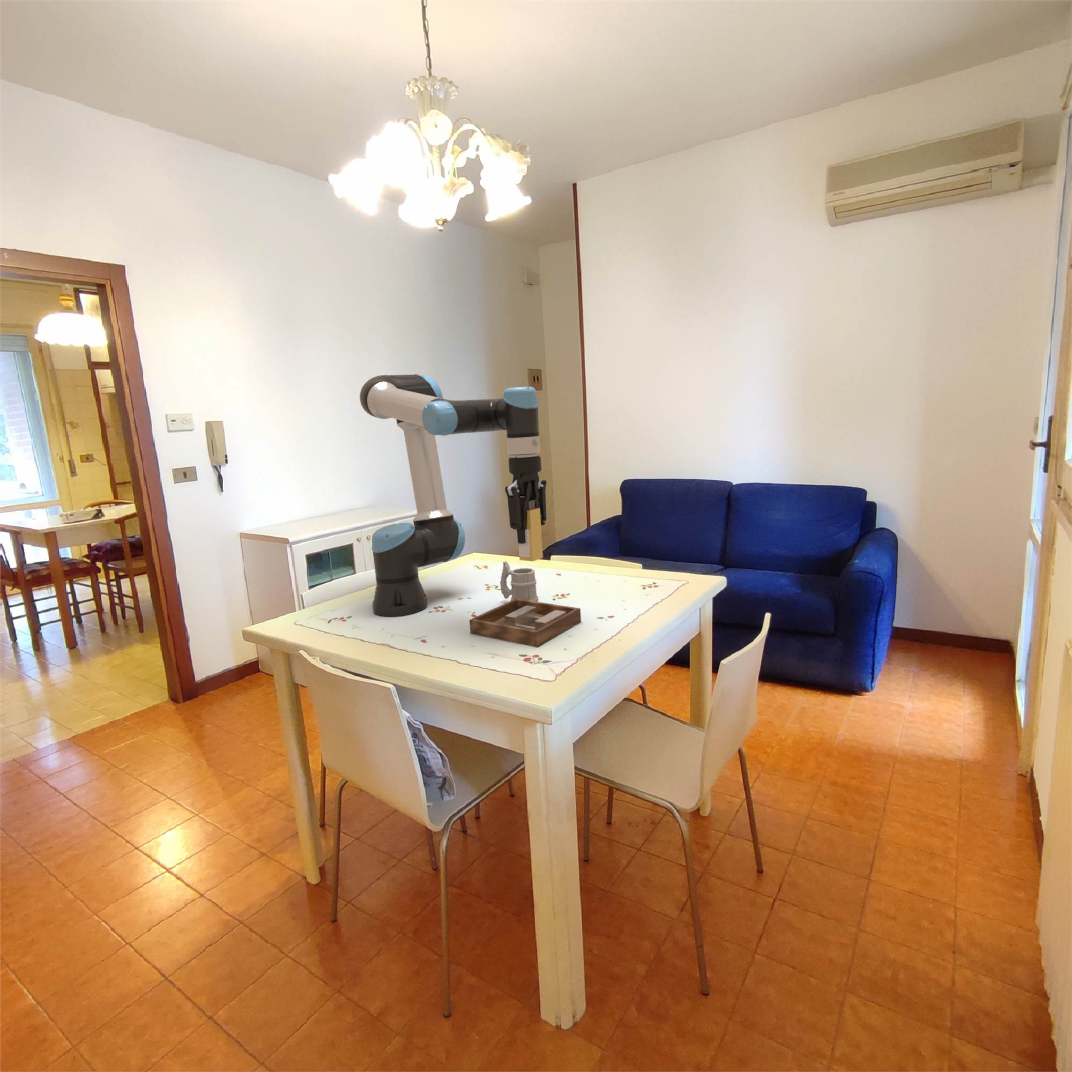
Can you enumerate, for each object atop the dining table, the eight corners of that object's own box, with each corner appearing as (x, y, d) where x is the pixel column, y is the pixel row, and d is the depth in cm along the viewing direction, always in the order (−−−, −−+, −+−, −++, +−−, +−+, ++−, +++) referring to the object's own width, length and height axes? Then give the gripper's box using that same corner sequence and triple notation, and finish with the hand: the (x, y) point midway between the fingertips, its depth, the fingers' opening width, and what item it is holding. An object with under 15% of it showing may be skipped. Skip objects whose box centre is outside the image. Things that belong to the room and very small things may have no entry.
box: (470, 633, 152) (469, 619, 151) (516, 611, 167) (516, 598, 166) (537, 647, 140) (536, 632, 140) (581, 621, 156) (580, 608, 155)
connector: (519, 560, 148) (515, 501, 145) (529, 556, 151) (525, 499, 148) (533, 561, 146) (529, 502, 143) (542, 557, 149) (539, 499, 146)
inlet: (505, 629, 152) (504, 615, 151) (527, 618, 159) (526, 605, 158) (545, 636, 145) (545, 622, 144) (566, 625, 152) (565, 611, 151)
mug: (528, 611, 166) (525, 567, 164) (493, 605, 173) (490, 563, 171) (544, 603, 172) (541, 561, 170) (510, 598, 179) (507, 557, 177)
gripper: (515, 458, 135) (522, 563, 139) (558, 452, 148) (563, 548, 153) (488, 459, 139) (496, 561, 144) (532, 452, 153) (538, 546, 157)
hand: (530, 554), depth 148 cm, fingers closed on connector, 4 cm apart
